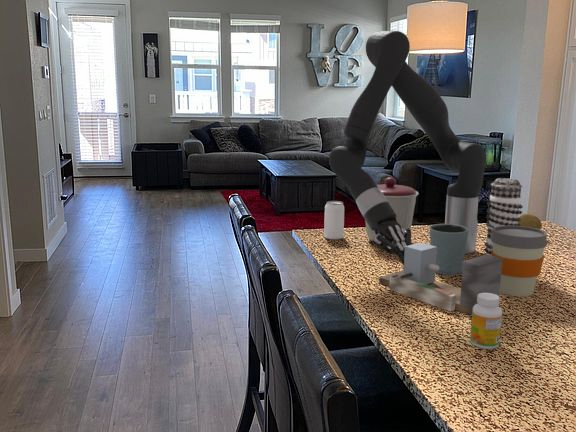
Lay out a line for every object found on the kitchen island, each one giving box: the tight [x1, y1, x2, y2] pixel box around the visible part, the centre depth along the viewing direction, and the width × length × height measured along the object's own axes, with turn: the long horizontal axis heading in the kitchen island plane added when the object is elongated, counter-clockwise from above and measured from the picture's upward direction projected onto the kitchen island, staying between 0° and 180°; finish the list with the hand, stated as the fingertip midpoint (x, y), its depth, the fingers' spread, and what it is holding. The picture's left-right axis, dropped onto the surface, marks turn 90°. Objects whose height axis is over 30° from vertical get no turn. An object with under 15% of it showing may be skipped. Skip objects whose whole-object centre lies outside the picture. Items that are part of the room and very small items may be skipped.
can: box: [323, 200, 345, 241], centre depth 187 cm, size 6×6×12 cm
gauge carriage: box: [401, 242, 439, 285], centre depth 136 cm, size 8×10×9 cm
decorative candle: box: [483, 177, 524, 255], centre depth 153 cm, size 9×9×25 cm
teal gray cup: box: [429, 223, 469, 276], centre depth 153 cm, size 10×10×12 cm
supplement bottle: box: [469, 293, 503, 350], centre depth 108 cm, size 5×5×10 cm
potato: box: [518, 213, 543, 230], centre depth 190 cm, size 7×8×8 cm
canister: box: [364, 177, 420, 242], centre depth 182 cm, size 18×18×21 cm
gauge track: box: [378, 254, 503, 316], centre depth 134 cm, size 28×11×12 cm, turn 38°
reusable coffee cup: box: [491, 226, 548, 297], centre depth 137 cm, size 13×12×15 cm
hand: (409, 264), depth 141 cm, fingers closed
